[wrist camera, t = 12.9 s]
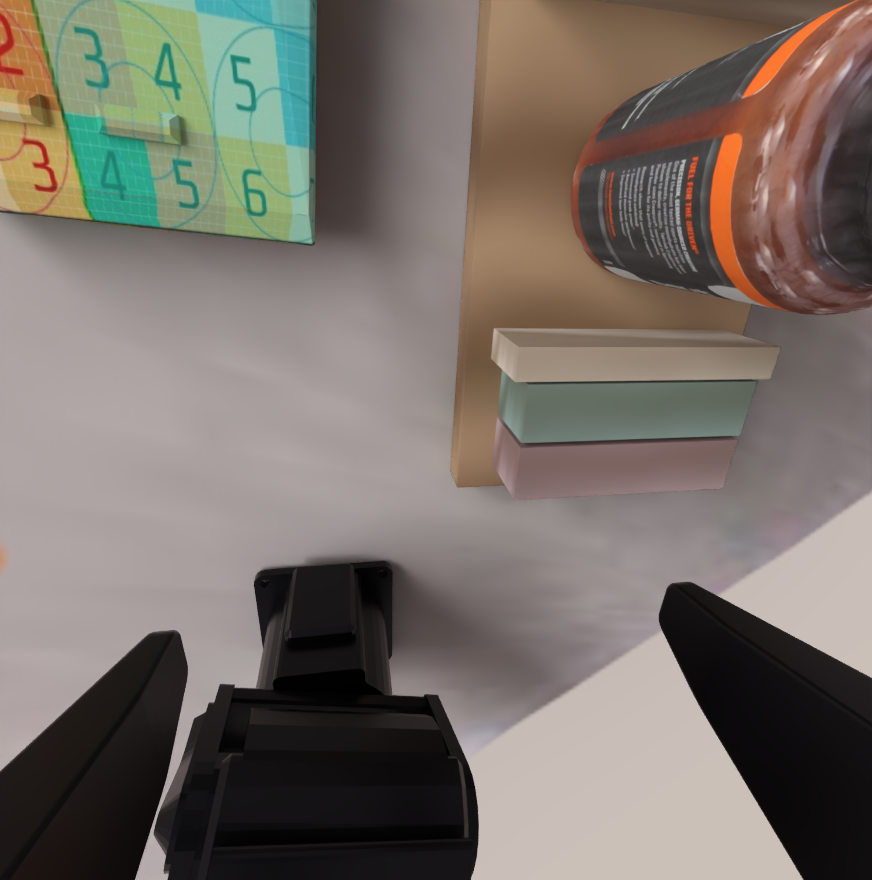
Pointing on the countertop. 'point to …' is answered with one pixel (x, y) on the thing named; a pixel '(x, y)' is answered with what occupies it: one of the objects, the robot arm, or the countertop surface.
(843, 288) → the supplement bottle
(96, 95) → the puzzle game
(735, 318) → the book rack
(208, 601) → the countertop surface
